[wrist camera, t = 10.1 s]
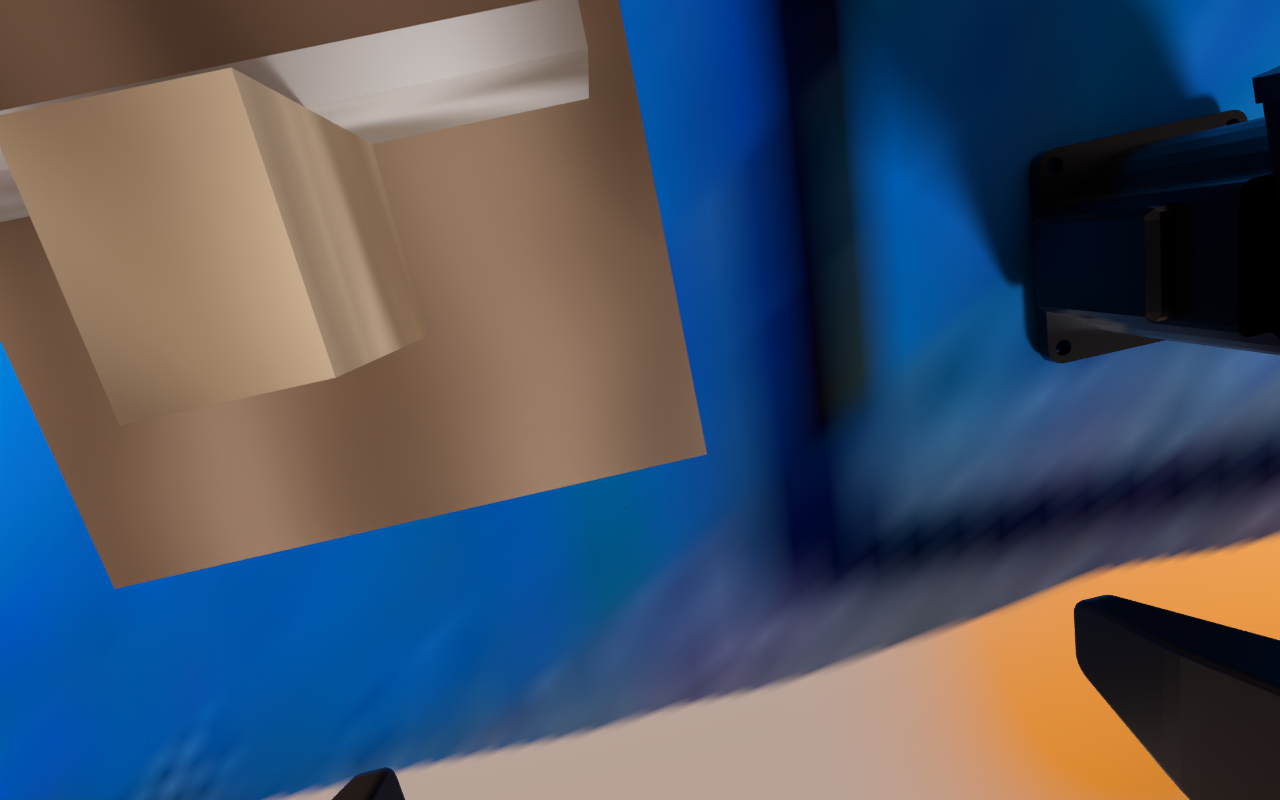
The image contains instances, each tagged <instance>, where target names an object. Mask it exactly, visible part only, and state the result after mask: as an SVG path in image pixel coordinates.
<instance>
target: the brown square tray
mask: <svg viewBox="0 0 1280 800" xmlns="http://www.w3.org/2000/svg"><path fill="white" fill-rule="evenodd" d="M532 1H537V0H0V111H1V110H6V109H11V108H16V107H21V106H26V105H31V104H36V103H40V102H45V101H50V100H55V99H60V98H65V97H70V96H75V95H79V94H84V93H89V92H94V91H99V90H104V89H109V88H114V87H118V86H123V85H128V84H133V83H138V82H143V81H148V80H152V79H157V78H162V77H167V76H172V75H177V74H182V73H187V72H191V71H196V70H201V69H206V68H211V67H216V66H221V65H226V64H230V63H235V62H240V61H245V60H250V59H255V58H260V57H265V56H269V55H274V54H279V53H284V52H289V51H294V50H299V49H303V48H308V47H313V46H318V45H323V44H328V43H333V42H338V41H342V40H347V39H352V38H357V37H362V36H367V35H372V34H377V33H381V32H386V31H391V30H396V29H401V28H406V27H411V26H416V25H420V24H425V23H430V22H435V21H440V20H445V19H450V18H455V17H459V16H464V15H469V14H474V13H479V12H484V11H489V10H493V9H498V8H503V7H508V6H513V5H518V4H523V3H528V2H532ZM578 3H579V8H580V13H581V17H582V22H583V27H584V32H585V36H586V41H587V46H588V77H589V98H588V99H584V100H579V101H574V102H569V103H565V104H560V105H555V106H550V107H546V108H541V109H536V110H531V111H527V112H522V113H517V114H512V115H508V116H503V117H498V118H493V119H489V120H484V121H479V122H474V123H470V124H465V125H460V126H455V127H450V128H446V129H441V130H436V131H431V132H427V133H422V134H417V135H412V136H408V137H403V138H398V139H393V140H389V141H384V142H379V143H374V144H373V147H374V151H375V154H376V158H377V161H378V164H379V168H380V171H381V175H382V178H383V181H384V185H385V188H386V192H387V195H388V198H389V202H390V205H391V209H392V212H393V215H394V219H395V222H396V226H397V229H398V232H399V236H400V239H401V242H402V246H403V249H404V253H405V256H406V259H407V263H408V266H409V270H410V273H411V276H412V280H413V283H414V287H415V290H416V293H417V297H418V300H419V304H420V307H421V310H422V314H423V317H424V321H425V324H426V327H427V331H428V334H429V336H427V337H425V338H423V339H421V340H418V341H416V342H414V343H412V344H409V345H407V346H405V347H403V348H401V349H398V350H396V351H394V352H392V353H389V354H387V355H385V356H383V357H381V358H378V359H376V360H374V361H372V362H369V363H367V364H365V365H363V366H361V367H358V368H356V369H354V370H352V371H349V372H347V373H345V374H343V375H341V376H338V377H336V378H332V379H328V380H323V381H319V382H314V383H310V384H305V385H300V386H296V387H291V388H287V389H282V390H278V391H273V392H269V393H264V394H260V395H255V396H251V397H246V398H242V399H237V400H233V401H228V402H224V403H219V404H214V405H210V406H205V407H201V408H196V409H192V410H187V411H183V412H178V413H174V414H169V415H165V416H160V417H156V418H151V419H147V420H142V421H138V422H133V423H128V424H124V425H119V423H118V421H117V418H116V416H115V414H114V411H113V409H112V407H111V404H110V402H109V400H108V397H107V395H106V393H105V390H104V388H103V386H102V383H101V381H100V379H99V376H98V374H97V372H96V369H95V367H94V365H93V362H92V360H91V358H90V355H89V353H88V351H87V348H86V346H85V344H84V341H83V339H82V337H81V334H80V332H79V330H78V327H77V325H76V323H75V320H74V318H73V316H72V313H71V311H70V309H69V306H68V304H67V302H66V299H65V297H64V295H63V292H62V290H61V288H60V285H59V283H58V281H57V278H56V276H55V274H54V271H53V269H52V267H51V264H50V262H49V260H48V257H47V255H46V253H45V250H44V248H43V246H42V243H41V241H40V239H39V236H38V234H37V232H36V230H35V227H34V225H33V223H32V220H31V218H30V216H27V217H23V218H18V219H13V220H8V221H4V222H0V340H1V343H2V345H3V347H4V349H5V351H6V354H7V356H8V358H9V360H10V362H11V364H12V367H13V369H14V371H15V373H16V375H17V377H18V380H19V382H20V384H21V386H22V388H23V390H24V393H25V395H26V397H27V399H28V401H29V404H30V406H31V408H32V410H33V412H34V414H35V417H36V419H37V421H38V423H39V425H40V427H41V430H42V432H43V434H44V436H45V438H46V440H47V443H48V445H49V447H50V449H51V451H52V454H53V456H54V458H55V460H56V462H57V464H58V467H59V469H60V471H61V473H62V475H63V477H64V480H65V482H66V484H67V486H68V488H69V490H70V493H71V495H72V497H73V499H74V501H75V504H76V506H77V508H78V510H79V512H80V514H81V517H82V519H83V521H84V523H85V525H86V527H87V530H88V532H89V534H90V536H91V538H92V540H93V543H94V545H95V547H96V549H97V551H98V554H99V556H100V558H101V560H102V562H103V564H104V567H105V569H106V571H107V573H108V575H109V577H110V580H111V582H112V584H113V586H114V588H115V589H116V588H120V587H125V586H129V585H133V584H138V583H142V582H147V581H151V580H155V579H160V578H164V577H169V576H173V575H177V574H182V573H186V572H191V571H195V570H199V569H204V568H208V567H213V566H217V565H221V564H226V563H230V562H235V561H239V560H243V559H248V558H252V557H257V556H261V555H265V554H270V553H274V552H279V551H283V550H287V549H292V548H296V547H301V546H305V545H309V544H314V543H318V542H323V541H327V540H331V539H336V538H340V537H345V536H349V535H353V534H358V533H362V532H367V531H371V530H375V529H380V528H384V527H389V526H393V525H397V524H402V523H406V522H411V521H415V520H419V519H424V518H428V517H433V516H437V515H441V514H446V513H450V512H455V511H459V510H463V509H468V508H472V507H477V506H481V505H485V504H490V503H494V502H499V501H503V500H507V499H512V498H516V497H521V496H525V495H529V494H534V493H538V492H543V491H547V490H551V489H556V488H560V487H565V486H569V485H573V484H578V483H582V482H587V481H591V480H595V479H600V478H604V477H609V476H613V475H617V474H622V473H626V472H631V471H635V470H639V469H644V468H648V467H653V466H657V465H661V464H666V463H670V462H675V461H679V460H683V459H688V458H692V457H697V456H701V455H705V454H707V452H706V447H705V442H704V437H703V431H702V426H701V421H700V416H699V411H698V406H697V401H696V395H695V390H694V385H693V380H692V375H691V370H690V365H689V359H688V354H687V349H686V344H685V339H684V334H683V329H682V324H681V318H680V313H679V308H678V303H677V298H676V293H675V288H674V282H673V277H672V272H671V267H670V262H669V257H668V252H667V246H666V241H665V236H664V231H663V226H662V221H661V216H660V210H659V205H658V200H657V195H656V190H655V185H654V180H653V174H652V169H651V164H650V159H649V154H648V149H647V144H646V139H645V133H644V128H643V123H642V118H641V113H640V108H639V103H638V97H637V92H636V87H635V82H634V77H633V72H632V67H631V61H630V56H629V51H628V46H627V41H626V36H625V31H624V25H623V20H622V15H621V10H620V5H619V0H578Z"/></svg>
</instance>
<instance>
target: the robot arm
mask: <svg viewBox="0 0 1280 800" xmlns="http://www.w3.org/2000/svg"><path fill="white" fill-rule="evenodd" d="M1252 81H1253V87H1254V94H1255V101H1256V104H1258V103H1263V108H1264V115H1265V117H1264V118H1259V119H1255V120H1250V121H1247V117H1246V116H1245V114H1244V113H1243V112H1241V111H1239V110H1230V111H1225V112H1221V113H1216V114H1211V115H1207V116H1202V117H1197V118H1193V119H1188V120H1184V121H1179V122H1174V123H1170V124H1165V125H1160V126H1156V127H1151V128H1147V129H1142V130H1137V131H1133V132H1128V133H1124V134H1119V135H1114V136H1110V137H1105V138H1100V139H1096V140H1091V141H1087V142H1082V143H1077V144H1073V145H1068V146H1063V147H1059V148H1054V149H1050V150H1046V151H1043V152H1041V153H1038V154H1037V155H1036V156H1035V157H1034V158H1033V160H1032V162H1031V164H1030V169H1029V177H1030V194H1031V212H1032V229H1031V232H1032V249H1033V266H1034V284H1035V301H1036V305H1037V317H1038V334H1039V350H1040V354H1041V356H1042V357H1043V358H1044V359H1045V360H1048V361H1051V362H1055V363H1067V362H1071V361H1076V360H1080V359H1084V358H1089V357H1093V356H1098V355H1102V354H1106V353H1111V352H1115V351H1120V350H1124V349H1128V348H1133V347H1137V346H1142V345H1146V344H1150V343H1155V342H1159V341H1164V340H1170V341H1178V342H1185V343H1193V344H1200V345H1208V346H1215V347H1223V348H1230V349H1237V350H1245V351H1252V352H1260V353H1267V354H1275V355H1280V66H1279V67H1276V68H1274V69H1272V70H1269V71H1267V72H1264V73H1262V74H1260V75H1257V76H1255V77H1253V78H1252ZM1225 124H1226V126H1225ZM1049 160H1050V161H1051V162H1052V164H1053V171H1052V173H1051V174H1049V173H1048V171H1047V163H1048V162H1049ZM1060 341H1061V343H1062V347H1061V349H1060V351H1059V352H1056V346H1057V344H1058V343H1059V342H1060ZM1074 624H1075V646H1076V657H1077V661H1078V664H1079V666H1080V668H1081V670H1082V671H1083V673H1084V675H1085V676H1086V677H1087V679H1088V680H1089V681H1090V682H1091V683H1092V685H1093V686H1094V687H1095V688H1096V690H1097V691H1098V692H1099V693H1100V694H1101V696H1102V697H1103V698H1104V699H1105V700H1106V702H1107V703H1108V704H1109V705H1110V706H1111V708H1112V709H1113V710H1114V711H1115V712H1116V714H1117V715H1118V716H1119V717H1120V718H1121V720H1122V721H1123V722H1124V723H1125V724H1126V726H1127V727H1128V728H1129V729H1130V731H1131V732H1132V733H1133V734H1134V735H1135V736H1136V738H1137V739H1138V740H1139V741H1140V743H1141V744H1142V745H1143V746H1144V747H1145V749H1146V750H1147V751H1148V752H1149V753H1150V755H1151V756H1152V757H1153V758H1154V759H1155V761H1156V762H1157V763H1158V764H1159V765H1160V767H1161V768H1162V769H1163V770H1164V771H1165V773H1166V774H1167V775H1168V776H1169V777H1170V778H1171V779H1172V781H1173V782H1174V783H1175V784H1176V785H1177V786H1178V787H1179V789H1180V790H1181V791H1182V792H1183V793H1184V794H1185V795H1186V796H1187V797H1188V798H1189V799H1190V800H1280V640H1276V639H1273V638H1269V637H1265V636H1261V635H1258V634H1254V633H1250V632H1247V631H1243V630H1239V629H1236V628H1232V627H1228V626H1224V625H1221V624H1217V623H1213V622H1209V621H1206V620H1202V619H1199V618H1195V617H1191V616H1187V615H1184V614H1180V613H1176V612H1173V611H1169V610H1165V609H1161V608H1158V607H1154V606H1151V605H1147V604H1143V603H1139V602H1136V601H1132V600H1128V599H1124V598H1120V597H1117V596H1113V595H1103V596H1098V597H1094V598H1090V599H1086V600H1082V601H1080V602H1079V603H1077V604H1076V606H1075V608H1074ZM332 800H405V798H404V795H403V793H402V790H401V787H400V785H399V782H398V779H397V776H396V775H395V773H394V771H393V770H392V769H390V768H387V767H386V768H380V769H376V770H372V771H368V772H364V773H361V774H358V775H356V776H355V777H354V778H353V779H352V780H351V781H350V782H349V783H348V784H347V785H346V786H345V787H344V788H343V789H342V790H341V791H340V792H339V793H338V794H337V795H336V796H335V797H334V798H333V799H332Z"/></svg>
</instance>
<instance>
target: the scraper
mask: <svg viewBox="0 0 1280 800" xmlns="http://www.w3.org/2000/svg"><path fill="white" fill-rule="evenodd" d="M588 98H589V77H588V46H587V41H586V36H585V32H584V27H583V22H582V17H581V13H580V8H579V3H578V0H537V1H532V2H528V3H523V4H518V5H513V6H508V7H503V8H498V9H493V10H489V11H484V12H479V13H474V14H469V15H464V16H459V17H455V18H450V19H445V20H440V21H435V22H430V23H425V24H420V25H416V26H411V27H406V28H401V29H396V30H391V31H386V32H381V33H377V34H372V35H367V36H362V37H357V38H352V39H347V40H342V41H338V42H333V43H328V44H323V45H318V46H313V47H308V48H303V49H299V50H294V51H289V52H284V53H279V54H274V55H269V56H265V57H260V58H255V59H250V60H245V61H240V62H235V63H230V64H226V65H221V66H216V67H211V68H206V69H201V70H196V71H191V72H187V73H182V74H177V75H172V76H167V77H162V78H157V79H152V80H148V81H143V82H138V83H133V84H128V85H123V86H118V87H114V88H109V89H104V90H99V91H94V92H89V93H84V94H79V95H75V96H70V97H65V98H60V99H55V100H50V101H45V102H40V103H36V104H31V105H26V106H21V107H16V108H11V109H6V110H1V111H0V222H4V221H8V220H13V219H18V218H23V217H27V216H30V218H31V220H32V223H33V225H34V227H35V230H36V232H37V234H38V236H39V239H40V241H41V243H42V246H43V248H44V250H45V253H46V255H47V257H48V260H49V262H50V264H51V267H52V269H53V271H54V274H55V276H56V278H57V281H58V283H59V285H60V288H61V290H62V292H63V295H64V297H65V299H66V302H67V304H68V306H69V309H70V311H71V313H72V316H73V318H74V320H75V323H76V325H77V327H78V330H79V332H80V334H81V337H82V339H83V341H84V344H85V346H86V348H87V351H88V353H89V355H90V358H91V360H92V362H93V365H94V367H95V369H96V372H97V374H98V376H99V379H100V381H101V383H102V386H103V388H104V390H105V393H106V395H107V397H108V400H109V402H110V404H111V407H112V409H113V411H114V414H115V416H116V418H117V421H118V423H119V425H124V424H128V423H133V422H138V421H142V420H147V419H151V418H156V417H160V416H165V415H169V414H174V413H178V412H183V411H187V410H192V409H196V408H201V407H205V406H210V405H214V404H219V403H224V402H228V401H233V400H237V399H242V398H246V397H251V396H255V395H260V394H264V393H269V392H273V391H278V390H282V389H287V388H291V387H296V386H300V385H305V384H310V383H314V382H319V381H323V380H328V379H332V378H336V377H338V376H341V375H343V374H345V373H347V372H349V371H352V370H354V369H356V368H358V367H361V366H363V365H365V364H367V363H369V362H372V361H374V360H376V359H378V358H381V357H383V356H385V355H387V354H389V353H392V352H394V351H396V350H398V349H401V348H403V347H405V346H407V345H409V344H412V343H414V342H416V341H418V340H421V339H423V338H425V337H427V336H429V334H428V331H427V327H426V324H425V321H424V317H423V314H422V310H421V307H420V304H419V300H418V297H417V293H416V290H415V287H414V283H413V280H412V276H411V273H410V270H409V266H408V263H407V259H406V256H405V253H404V249H403V246H402V242H401V239H400V236H399V232H398V229H397V226H396V222H395V219H394V215H393V212H392V209H391V205H390V202H389V198H388V195H387V192H386V188H385V185H384V181H383V178H382V175H381V171H380V168H379V164H378V161H377V158H376V154H375V151H374V147H373V144H374V143H379V142H384V141H389V140H393V139H398V138H403V137H408V136H412V135H417V134H422V133H427V132H431V131H436V130H441V129H446V128H450V127H455V126H460V125H465V124H470V123H474V122H479V121H484V120H489V119H493V118H498V117H503V116H508V115H512V114H517V113H522V112H527V111H531V110H536V109H541V108H546V107H550V106H555V105H560V104H565V103H569V102H574V101H579V100H584V99H588Z"/></svg>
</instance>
